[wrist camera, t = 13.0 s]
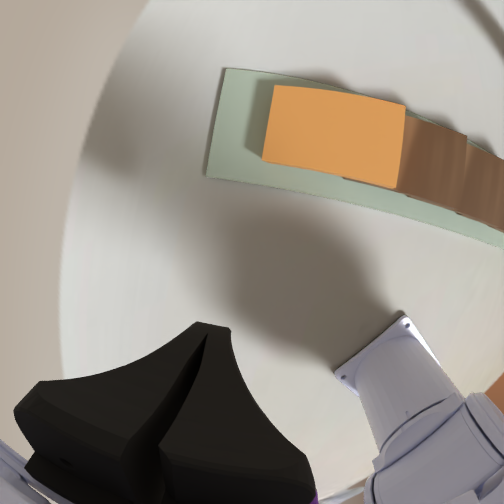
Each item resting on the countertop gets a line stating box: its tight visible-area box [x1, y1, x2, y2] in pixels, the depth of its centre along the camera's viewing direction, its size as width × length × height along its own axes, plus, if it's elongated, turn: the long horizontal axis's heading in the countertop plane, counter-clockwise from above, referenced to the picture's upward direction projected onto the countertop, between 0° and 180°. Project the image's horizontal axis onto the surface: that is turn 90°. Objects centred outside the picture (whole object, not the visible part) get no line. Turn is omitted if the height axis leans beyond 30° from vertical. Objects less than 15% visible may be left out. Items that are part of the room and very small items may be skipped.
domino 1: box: [343, 115, 467, 210], centre depth 15 cm, size 2×5×8 cm
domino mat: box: [206, 68, 504, 249], centre depth 17 cm, size 34×8×1 cm, turn 80°
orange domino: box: [262, 85, 406, 189], centre depth 15 cm, size 2×5×8 cm
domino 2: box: [407, 144, 504, 228], centre depth 15 cm, size 2×5×8 cm
